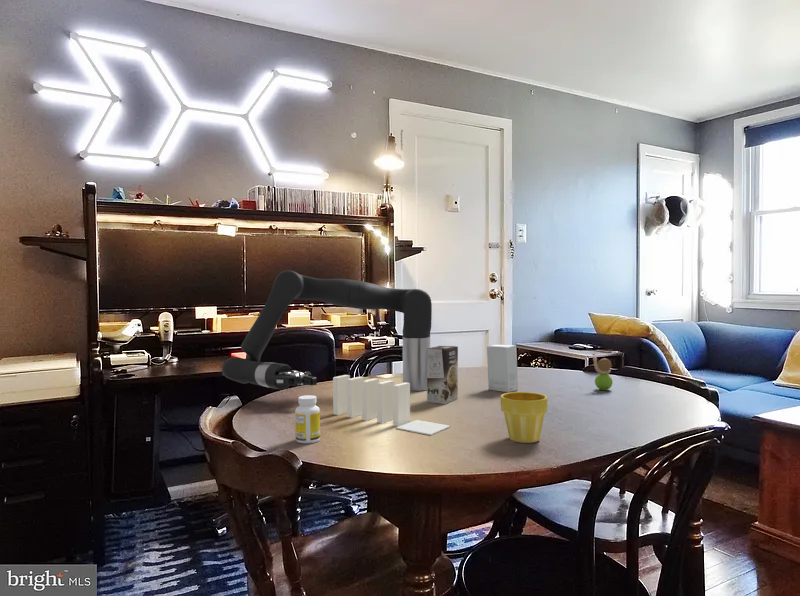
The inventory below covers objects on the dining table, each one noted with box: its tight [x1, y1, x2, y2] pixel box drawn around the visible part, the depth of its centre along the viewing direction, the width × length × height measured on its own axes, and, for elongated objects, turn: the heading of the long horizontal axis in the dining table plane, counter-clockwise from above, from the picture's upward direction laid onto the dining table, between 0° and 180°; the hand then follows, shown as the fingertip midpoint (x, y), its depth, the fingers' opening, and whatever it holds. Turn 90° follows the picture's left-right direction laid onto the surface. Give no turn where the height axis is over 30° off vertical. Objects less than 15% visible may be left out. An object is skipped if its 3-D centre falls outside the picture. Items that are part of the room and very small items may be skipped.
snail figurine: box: [592, 353, 613, 391], centre depth 177 cm, size 5×6×12 cm
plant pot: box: [500, 391, 549, 444], centre depth 121 cm, size 10×10×10 cm
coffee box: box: [426, 345, 459, 405], centre depth 162 cm, size 9×6×16 cm
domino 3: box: [361, 378, 380, 422], centre depth 140 cm, size 2×5×10 cm, turn 144°
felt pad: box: [395, 419, 452, 436], centre depth 131 cm, size 10×9×1 cm
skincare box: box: [486, 343, 519, 393], centre depth 177 cm, size 8×6×15 cm
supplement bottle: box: [294, 395, 321, 444], centre depth 121 cm, size 5×5×10 cm
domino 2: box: [346, 376, 365, 419], centre depth 143 cm, size 2×5×10 cm, turn 144°
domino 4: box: [376, 379, 395, 425], centre depth 138 cm, size 2×5×10 cm, turn 144°
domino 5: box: [392, 382, 411, 427], centre depth 135 cm, size 2×5×10 cm, turn 144°
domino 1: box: [332, 374, 351, 416], centre depth 146 cm, size 2×5×10 cm, turn 144°
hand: (314, 381), depth 152 cm, fingers closed
